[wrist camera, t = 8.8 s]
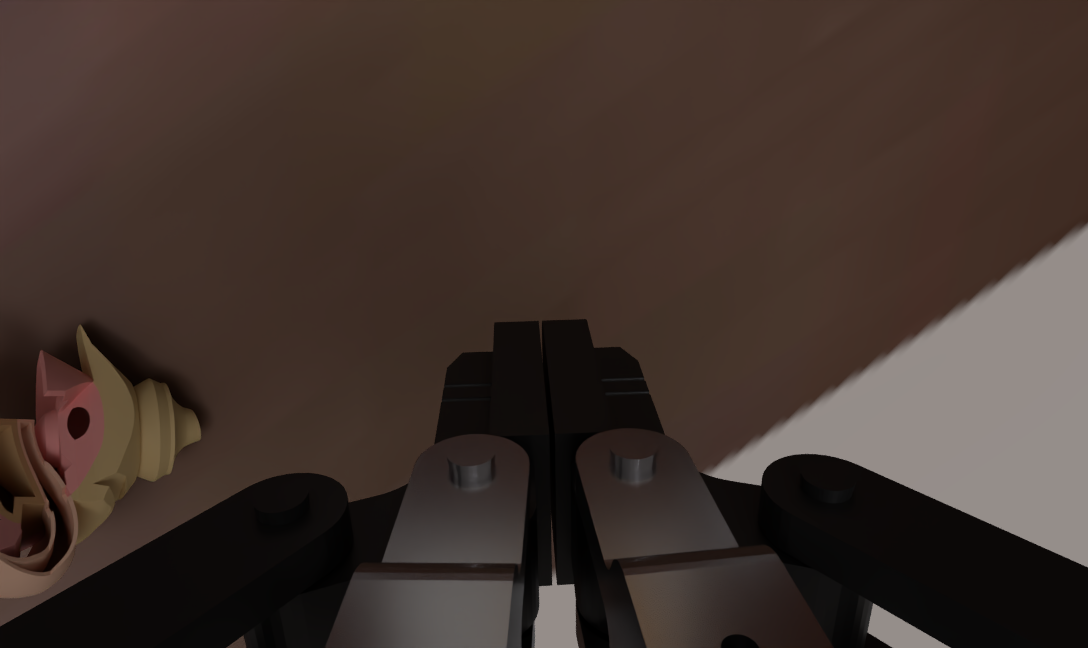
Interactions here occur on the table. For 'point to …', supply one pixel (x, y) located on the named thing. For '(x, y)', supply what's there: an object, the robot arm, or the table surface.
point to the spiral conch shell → (78, 461)
